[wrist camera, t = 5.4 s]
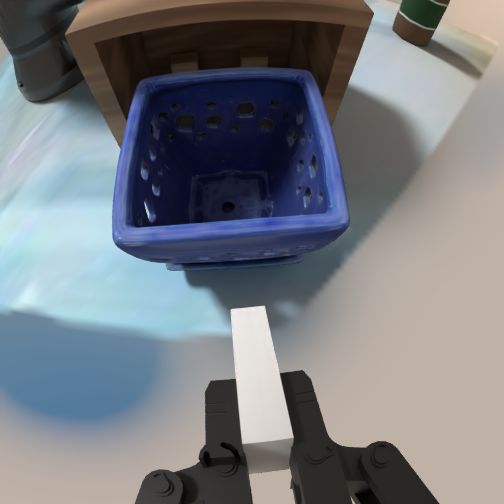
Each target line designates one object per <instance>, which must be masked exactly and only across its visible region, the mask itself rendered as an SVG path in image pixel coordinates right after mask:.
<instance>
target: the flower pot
mask: <svg viewBox="0 0 504 504" xmlns="http://www.w3.org/2000/svg"><path fill="white" fill-rule="evenodd" d="M272 101H278V104H271V102H272ZM208 102H214V103H215V104H214V105H212V106H209V105H207V103H208ZM175 103H177V105H176V106H173V104H175ZM242 103H252V104H253V108H254V112H253V113H244V114H239V113H238V112H237V106H238V105H239V104H242ZM160 113H167V115H168V116H167V117H161V116H159V114H160ZM285 113H289V115H285ZM179 116H193V127H191V128H189V127H179V126H177V124H176V120H177V117H179ZM209 116H220V117H221V118H220V121H219V122H218V123H217V124H210V123H207V118H208V117H209ZM264 118H267V119H270V120H272V121H273V123H272V124H271V126H270V127H263V126H260V125H258V124H259V122H260V121H261V120H262V119H264ZM151 124H152V126H153V129H154V131H153V135H152V133H151ZM234 125H238V127H237V128H236V129H233V128H231V127H232V126H234ZM198 132H204V134H203V135H199V134H198ZM295 132H296V136H297V138H296V140H295V142H294V139H293V135H294V133H295ZM170 133H171V134H172V135H173V136H170V137H169V136H168V134H170ZM316 162H317V163H318V171H317V173H316V170H315V165H316ZM141 168H142V174H141ZM152 184H153V189H152ZM310 194H312V198H311V200H310ZM144 201H145V203H146V206H147V208H148V211H149V215H150V216H149V219H148V216H147V213H146V209H145V205H144ZM348 226H349V210H348V204H347V198H346V192H345V187H344V181H343V176H342V170H341V165H340V161H339V156H338V152H337V147H336V142H335V138H334V134H333V131H332V127H331V124H330V121H329V118H328V115H327V111H326V108H325V105H324V102H323V99H322V96H321V93H320V91H319V88H318V86H317V84H316V81H315V79H314V77H313V75H312V73H311V72H309V71H307V70H301V69H291V68H269V67H241V68H224V69H209V70H199V71H188V72H179V73H172V74H165V75H159V76H154V77H149V78H146V79H143V80H142V81H140V82H139V84H138V86H137V88H136V90H135V93H134V97H133V100H132V104H131V107H130V111H129V115H128V120H127V123H126V128H125V133H124V137H123V142H122V146H121V150H120V155H119V161H118V167H117V173H116V180H115V188H114V197H113V210H112V235H113V241H114V243H115V245H116V246H117V247H118V248H120V249H121V250H122V251H124V252H126V253H128V254H130V255H132V256H134V257H136V258H139V259H142V260H146V261H150V262H158V263H166V267H167V269H168V270H171V271H180V270H212V269H231V268H248V267H260V266H272V265H284V264H293V263H299V262H301V261H302V260H303V258H304V253H307V252H311V251H314V250H317V249H320V248H322V247H324V246H326V245H328V244H329V243H331V242H332V241H334V240H335V239H337V238H338V237H339V236H340V235H341V234H343V233H344V232H345V230H346V229H347V228H348Z"/></svg>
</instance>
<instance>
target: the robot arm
mask: <svg viewBox="0 0 504 504" xmlns="http://www.w3.org/2000/svg"><path fill="white" fill-rule="evenodd" d="M85 1H87V0H0V37H1V39H2V40H3V42H4V44H5V46H6V47H7V49H8V50H9V52H10V54H11V56H12V58H13V63H14V69H15V75H16V80H17V85H18V88H19V90H20V91H21V93H22V94H23V96H24V97H25V98H26V99H27V100H29V101H41V100H45V99H48V98H51V97H53V96H56V95H58V94H60V93H62V92H63V91H65V90H67V89H68V88H70V87H72V86H73V85H75V84H76V83H77V82H79V81H80V80H81V79H83V78H84V76H83V74H82V72H81V70H80V68H79V66H78V64H77V61H76V59H75V57H74V55H73V53H72V51H71V48H70V46H69V44H68V42H67V39H66V37H65V33H66V32H67V30H68V28H69V27H70V25H71V24H72V22H73V20H74V19H75V17H76V16H77V14H78V13H79V10H78V7H77V5H78V4H80V3H82V2H85ZM231 322H232V335H233V348H234V359H235V372H236V379H230V380H216V381H210V383H209V385H208V387H207V389H206V391H205V405H206V406H205V413H206V415H205V420H206V421H205V424H206V425H205V428H206V445H204V447H203V448H202V449H201V451H200V454H199V460H200V462H198V463H197V464H196V465H194V466H192V467H190V468H187V469H183V470H180V471H177V472H171V471H169V470H160V469H159V470H156V471H152V472H151V473H149V474H148V475H147V476H146V477H145V479H144V480H143V482H142V485H141V488H140V490H139V493H138V496H137V499H136V502H135V504H253V501H252V494H251V487H250V480H249V474H252V473H262V472H270V471H278V470H285V469H289V468H290V470H291V475H292V479H291V488H290V489H293V493H294V498H295V504H352V501H351V497H352V499H353V501H354V502H355V504H439V503H438V501H437V500H436V499H435V497H434V496H433V495H432V493H431V492H430V491H429V490H428V488H427V487H426V486H425V484H424V483H423V482H422V481H421V479H420V478H419V476H418V475H417V474H416V472H415V471H414V470H413V469H412V467H411V466H410V465H409V463H408V462H407V461H406V459H405V458H404V457H403V455H402V454H401V453H400V451H399V450H398V449H397V448H396V447H395V446H394V445H393V444H391V443H388V442H386V441H378V442H375V443H372V444H370V445H369V446H367V447H366V448H358V447H357V448H356V447H345V446H341V445H338V444H337V443H335V442H334V441H332V440H331V438H330V437H329V436H328V433H327V431H326V427H325V424H324V421H323V417H322V414H321V411H320V408H319V404H318V402H317V398H316V395H315V392H314V388H313V385H312V381H311V379H310V378H309V377H308V376H307V374H305V372H304V371H303V370H301V371H293V372H286V373H279V369H278V364H277V360H276V355H275V351H274V347H273V342H272V337H271V333H270V328H269V324H268V319H267V315H266V310H265V306H257V307H247V308H237V309H231ZM350 496H351V497H350Z"/></svg>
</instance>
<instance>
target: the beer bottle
mask: <svg viewBox="0 0 504 504" xmlns="http://www.w3.org/2000/svg"><path fill="white" fill-rule="evenodd" d="M449 2H450V0H402V3H401V5H400V8H399V10H398V13H397V15H396V18H395V21H394V24H393V31H394V32H395V33H397V34H398V35H399V36H400V37H401V38H402V39H404V40H406V41H408V42H410V43H412V44H414V45H417V46H426V45H427V44H428V42H429V41H430V39H431V37H432V36H433V34H434V32H435V30H436V28H437V26H438V24H439V22H440V20H441V18H442V16H443V14H444V12H445V10H446V8H447V6H448V4H449Z"/></svg>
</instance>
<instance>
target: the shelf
mask: <svg viewBox="0 0 504 504" xmlns="http://www.w3.org/2000/svg"><path fill="white" fill-rule="evenodd" d="M373 15H374V12H373V11H372V10H371V9H370V7H369V6H368V5H367V4H366V3H365V2H364V0H87V1H86V2H85V4H84V5H83V7H82V8H81V10H80V11H79V13H78V14H77V16H76V17H75V19H74V20H73V22H72V24H71V25H70V27H69V28H68V30H67V32H66V33H65V37H66V39H67V42H68V44H69V46H70V48H71V51H72V53H73V55H74V57H75V59H76V61H77V64H78V66H79V68H80V70H81V72H82V74H83V76H84V78H85V80H86V82H87V84H88V87H89V89H90V91H91V93H92V95H93V97H94V99H95V101H96V103H97V105H98V107H99V109H100V111H101V113H102V114H103V116H104V118H105V120H106V122H107V124H108V126H109V128H110V130H111V132H112V134H113V136H114V137H115V139H116V141H117V143H118V145H119V147H120V149H121V146H122V142H123V137H124V133H125V128H126V123H127V120H128V115H129V111H130V107H131V104H132V100H133V97H134V93H135V90H136V88H137V86H138V84H139V82H140V81H142V80H143V79H146V78H149V77H154V76H159V75H165V74H172V73H179V72H188V71H199V70H209V69H224V68H241V67H269V68H291V69H301V70H307V71H309V72H311V73H312V75H313V77H314V79H315V81H316V84H317V86H318V88H319V91H320V93H321V96H322V99H323V102H324V105H325V108H326V111H327V115H328V118H329V121H330V124H331V126H332V124H333V121H334V119H335V116H336V113H337V111H338V108H339V106H340V103H341V101H342V98H343V95H344V93H345V90H346V88H347V85H348V82H349V80H350V77H351V75H352V72H353V69H354V67H355V64H356V61H357V59H358V56H359V53H360V51H361V48H362V45H363V42H364V40H365V37H366V34H367V32H368V29H369V26H370V23H371V21H372V18H373Z"/></svg>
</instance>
